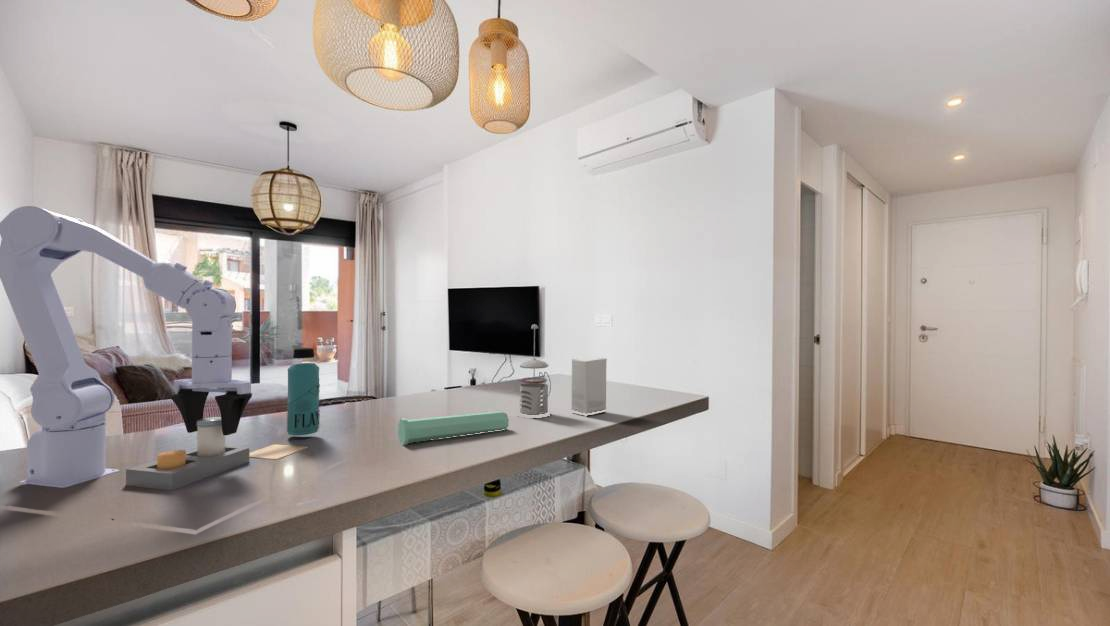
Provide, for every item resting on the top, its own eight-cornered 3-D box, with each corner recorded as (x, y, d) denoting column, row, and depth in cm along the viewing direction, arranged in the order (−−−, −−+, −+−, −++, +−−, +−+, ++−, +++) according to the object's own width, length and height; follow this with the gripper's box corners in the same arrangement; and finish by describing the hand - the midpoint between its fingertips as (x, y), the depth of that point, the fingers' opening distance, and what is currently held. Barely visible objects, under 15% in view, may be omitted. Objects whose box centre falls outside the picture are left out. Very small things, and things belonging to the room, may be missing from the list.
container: (504, 403, 114) (400, 412, 101) (514, 417, 109) (406, 428, 96) (499, 424, 116) (396, 435, 102) (509, 438, 111) (403, 452, 98)
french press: (538, 409, 135) (539, 323, 135) (562, 417, 126) (563, 324, 126) (509, 413, 130) (510, 324, 129) (532, 421, 120) (533, 325, 120)
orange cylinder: (150, 477, 74) (151, 455, 74) (173, 470, 78) (173, 449, 78) (169, 479, 74) (169, 457, 74) (191, 471, 77) (191, 450, 77)
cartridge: (190, 468, 81) (190, 421, 81) (212, 461, 85) (212, 416, 85) (210, 470, 80) (210, 423, 80) (231, 462, 84) (231, 417, 84)
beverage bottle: (289, 444, 98) (290, 349, 98) (283, 437, 103) (284, 347, 103) (323, 439, 102) (323, 348, 102) (315, 433, 107) (316, 346, 107)
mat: (240, 459, 88) (240, 455, 88) (274, 447, 96) (274, 444, 96) (276, 462, 86) (276, 459, 86) (307, 449, 94) (307, 446, 94)
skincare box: (591, 409, 136) (592, 356, 136) (607, 413, 131) (608, 358, 131) (570, 413, 131) (570, 358, 131) (586, 417, 126) (586, 360, 126)
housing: (125, 488, 73) (125, 469, 73) (208, 460, 87) (208, 444, 87) (172, 493, 71) (172, 473, 71) (249, 464, 85) (249, 447, 85)
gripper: (155, 357, 80) (155, 436, 80) (226, 359, 77) (225, 441, 77) (195, 353, 87) (195, 426, 87) (261, 355, 84) (260, 430, 84)
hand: (212, 432), depth 83 cm, fingers open, 7 cm apart
